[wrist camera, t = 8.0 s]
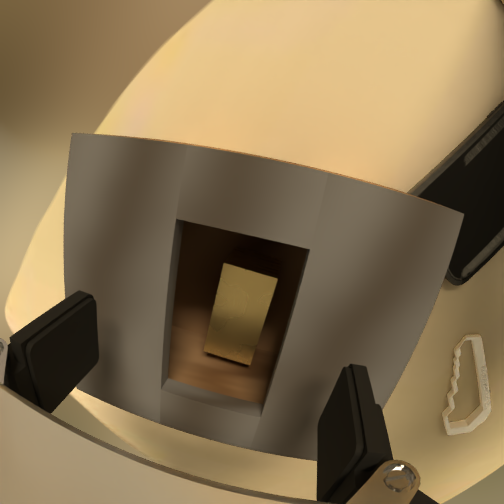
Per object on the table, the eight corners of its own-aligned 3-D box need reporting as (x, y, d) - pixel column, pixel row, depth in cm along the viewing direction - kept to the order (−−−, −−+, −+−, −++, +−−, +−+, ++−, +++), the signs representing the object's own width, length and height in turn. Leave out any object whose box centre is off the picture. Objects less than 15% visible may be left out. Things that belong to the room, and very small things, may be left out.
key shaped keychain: (422, 350, 22) (428, 360, 21) (472, 321, 21) (481, 330, 19) (446, 438, 24) (451, 449, 22) (487, 416, 23) (492, 425, 21)
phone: (567, 168, 14) (455, 291, 19) (559, 167, 16) (449, 286, 20) (523, 81, 14) (397, 203, 18) (515, 83, 15) (392, 201, 19)
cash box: (398, 190, 18) (464, 213, 10) (337, 372, 23) (346, 464, 14) (157, 139, 20) (71, 132, 11) (138, 322, 24) (76, 388, 15)
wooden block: (281, 259, 20) (277, 278, 17) (257, 336, 22) (250, 365, 19) (236, 246, 20) (223, 262, 17) (217, 324, 22) (203, 350, 19)
